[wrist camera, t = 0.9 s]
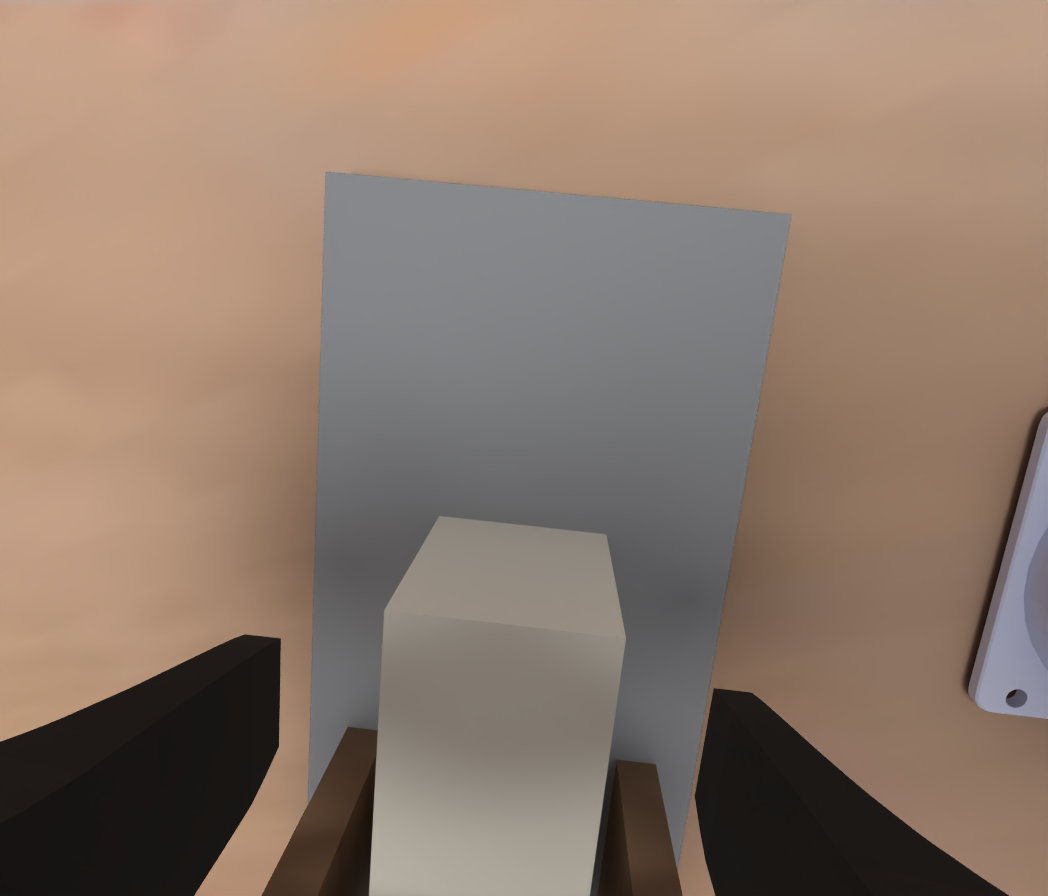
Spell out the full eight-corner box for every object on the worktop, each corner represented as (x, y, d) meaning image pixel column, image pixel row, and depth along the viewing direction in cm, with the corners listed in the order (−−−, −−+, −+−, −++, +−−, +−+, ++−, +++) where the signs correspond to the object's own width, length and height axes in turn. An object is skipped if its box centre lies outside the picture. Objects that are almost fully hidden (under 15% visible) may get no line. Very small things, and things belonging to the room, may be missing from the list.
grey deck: (769, 223, 15) (791, 214, 14) (622, 1101, 21) (626, 1159, 20) (347, 183, 16) (325, 171, 14) (316, 1057, 22) (298, 1112, 20)
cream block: (606, 534, 16) (625, 638, 11) (557, 914, 18) (555, 1140, 13) (439, 515, 16) (384, 610, 11) (412, 895, 18) (357, 1112, 13)
